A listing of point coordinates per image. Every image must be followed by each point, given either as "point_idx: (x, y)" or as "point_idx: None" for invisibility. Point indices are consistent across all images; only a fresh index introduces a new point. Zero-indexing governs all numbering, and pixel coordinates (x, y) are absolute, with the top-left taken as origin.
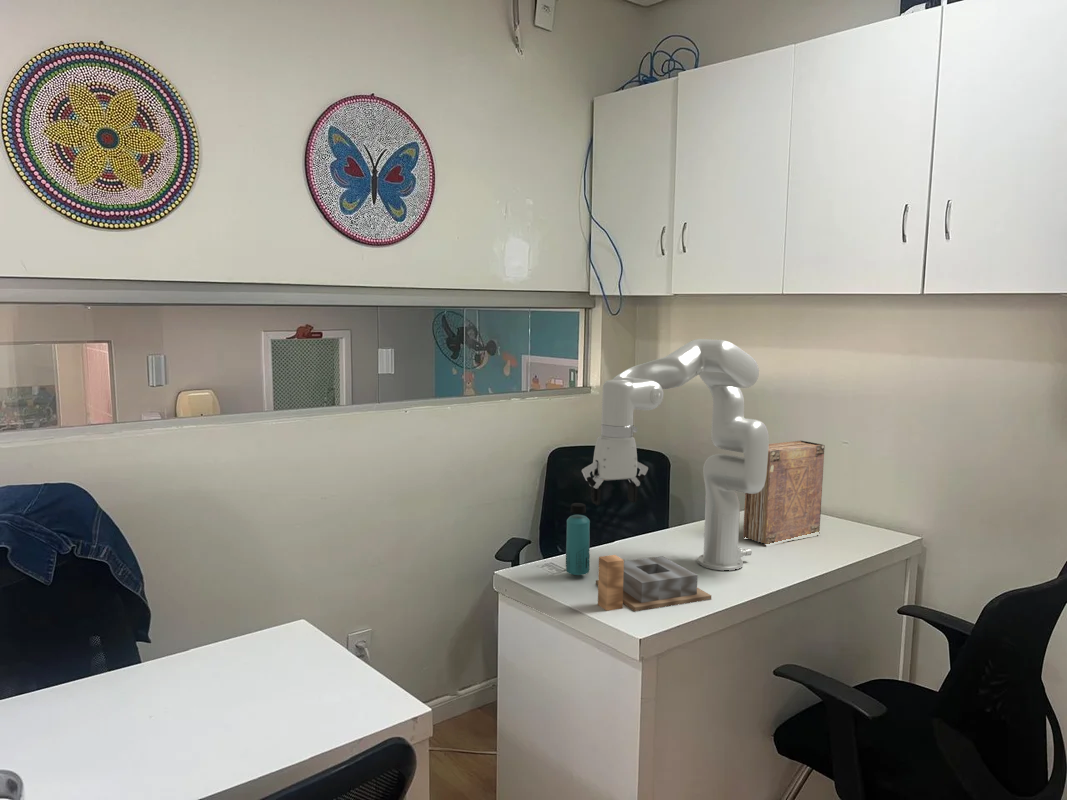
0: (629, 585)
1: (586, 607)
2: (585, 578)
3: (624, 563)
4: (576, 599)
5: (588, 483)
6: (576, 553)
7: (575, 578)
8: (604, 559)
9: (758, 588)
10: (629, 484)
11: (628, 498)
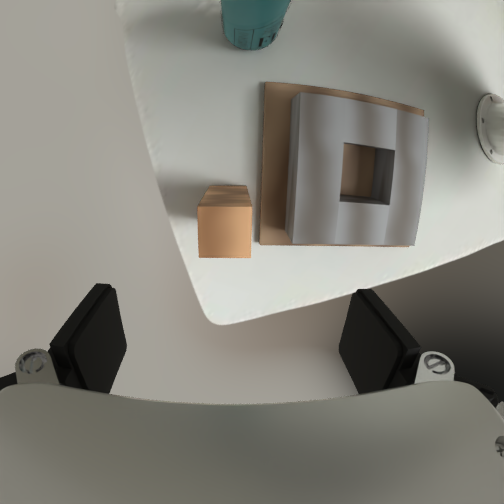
0: (291, 185)
1: (181, 191)
2: None
3: (331, 111)
4: (182, 146)
5: (11, 374)
6: (234, 29)
7: None
8: (201, 233)
9: (474, 235)
10: (403, 357)
11: (354, 304)
